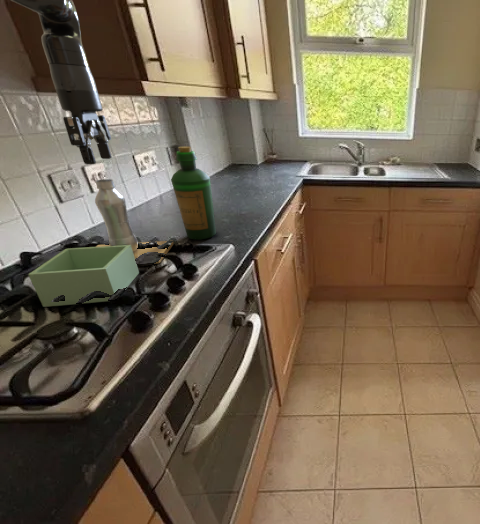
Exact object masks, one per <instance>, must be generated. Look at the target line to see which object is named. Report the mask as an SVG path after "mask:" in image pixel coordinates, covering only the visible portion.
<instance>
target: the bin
mask: <svg viewBox="0 0 480 524" xmlns="http://www.w3.org/2000/svg"><path fill="white" fill-rule="evenodd" d="M139 274H140V270H139V268H138V265H137V264H136V261H135V257H134V254H133V251H132V247H131V245H121V246H103V247H96V246H89V247H72V248H71V247H70V248H65V249H63V250H62V251H60V252H59V253H57V254H56V255H55V256H53V257H52V258H50V259H48V260H47V261H46V262H44V263H43V264H41V265H40V266H39V267H37V268H35V269H34V270H33V271H31V272H29V273H28V274H27V276H28V278H29V280H30V282H31V284H32V286H33V288H34V290H35V292H36V294H37V297H38V299H39V302H40V303H41V305H42V308H47V307H59V306H60V307H61V306H70V305H77V304H76V303H77V302H78V301H79V299H81V298H82V297H84V296H86V295H87V294H89V293H91V292H94V291H101V292H104V293H107V294H109V295H112V294H114V293H115V292H116V291H117V290H118V289H123V288H126V287H127V288H128V287H130V285H131V284H132V282H133V281H134V280H135V279H136V277H138V275H139ZM127 288H126V289H127ZM60 295H64V296H65V301H59V302H51V301H52V300H53V299H54V298H56V297H58V296H60ZM109 298H110V297H105V298H93V299H91V300H89V301H86V302H84V303H83V304H91V303H92V304H93V303H102V302H109V301H108V299H109Z"/></svg>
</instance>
